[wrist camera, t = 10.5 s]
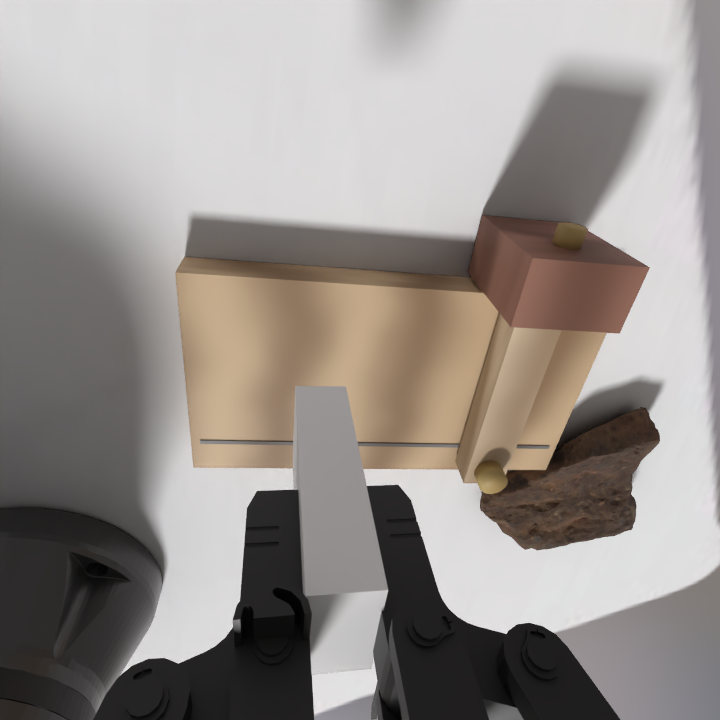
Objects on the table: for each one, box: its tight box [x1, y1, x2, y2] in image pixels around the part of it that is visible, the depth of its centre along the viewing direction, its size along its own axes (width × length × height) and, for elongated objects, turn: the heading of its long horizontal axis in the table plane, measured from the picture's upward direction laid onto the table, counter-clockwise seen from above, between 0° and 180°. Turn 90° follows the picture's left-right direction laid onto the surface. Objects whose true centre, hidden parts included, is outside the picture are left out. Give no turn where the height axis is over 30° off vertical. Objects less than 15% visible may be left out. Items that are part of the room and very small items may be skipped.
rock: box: [480, 407, 660, 550], centre depth 33 cm, size 11×10×4 cm
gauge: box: [455, 215, 650, 494], centre depth 25 cm, size 5×15×6 cm, turn 173°
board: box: [175, 257, 606, 470], centre depth 27 cm, size 22×12×2 cm, turn 83°
